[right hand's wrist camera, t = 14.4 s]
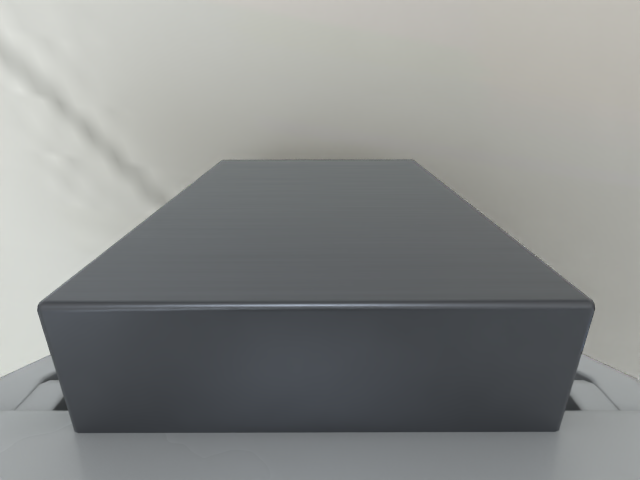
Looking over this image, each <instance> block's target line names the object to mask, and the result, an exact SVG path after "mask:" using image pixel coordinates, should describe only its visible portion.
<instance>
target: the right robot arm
mask: <svg viewBox="0 0 640 480" xmlns="http://www.w3.org/2000/svg"><path fill="white" fill-rule="evenodd" d="M0 480H640V381H639V380H638V379H636V378H634V377H631V376H629V375H627V374H625V373H623V372H621V371H619V370H616V369H614V368H612V367H610V366H608V365H606V364H603V363H601V362H599V361H597V360H595V359H593V358H591V357H588V356H586V355H584V354H582V355H581V358H580V361H579V365H578V368H577V371H576V375H575V378H574V382H573V385H572V388H571V392H570V395H569V398H568V402H567V405H566V409H565V412H564V415H563V419H562V422H561V425H560V429H559V431H556V432H315V433H77V432H74V428H73V425H72V422H71V419H70V415H69V412H68V409H67V406H66V402H65V399H64V396H63V393H62V389H61V386H60V383H59V380H58V376H57V373H56V370H55V367H54V363H53V360H52V357H51V355H49V356H46V357H44V358H42V359H40V360H38V361H36V362H33V363H31V364H29V365H27V366H25V367H22V368H20V369H18V370H16V371H14V372H12V373H9V374H7V375H5V376H3V377H1V378H0Z"/></svg>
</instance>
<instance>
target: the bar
mask: <svg viewBox="0 0 640 480" xmlns="http://www.w3.org/2000/svg"><path fill="white" fill-rule="evenodd" d="M37 311H38V315H39V318H40V321H41V324H42V328H43V331H44V334H45V337H46V341H47V344H48V347H49V350H50V354H51V357H52V360H53V363H54V367H55V370H56V373H57V376H58V380H59V383H60V386H61V389H62V393H63V396H64V399H65V402H66V406H67V409H68V412H69V415H70V419H71V422H72V425H73V428H74V432H77V433H315V432H556V431H559V429H560V425H561V422H562V419H563V415H564V412H565V409H566V405H567V402H568V398H569V395H570V392H571V388H572V385H573V382H574V378H575V375H576V371H577V368H578V365H579V361H580V358H581V355H582V351H583V348H584V344H585V341H586V338H587V334H588V331H589V328H590V324H591V321H592V317H593V314H594V311H595V305H594V302H593V300H591V299H590V298H589V297H587V296H586V295H585V294H584V293H582V292H581V291H580V290H579V289H577V288H576V287H575V286H573V285H572V284H571V283H570V282H568V281H567V280H566V279H565V278H563V277H562V276H561V275H559V274H558V273H557V272H556V271H554V270H553V269H552V268H550V267H549V266H548V265H547V264H545V263H544V262H543V261H542V260H540V259H539V258H538V257H536V256H535V255H534V254H533V253H531V252H530V251H529V250H528V249H526V248H525V247H524V246H522V245H521V244H520V243H519V242H517V241H516V240H515V239H514V238H512V237H511V236H510V235H508V234H507V233H506V232H505V231H503V230H502V229H501V228H500V227H498V226H497V225H496V224H494V223H493V222H492V221H491V220H489V219H488V218H487V217H486V216H484V215H483V214H482V213H480V212H479V211H478V210H477V209H475V208H474V207H473V206H472V205H470V204H469V203H468V202H466V201H465V200H464V199H463V198H461V197H460V196H459V195H458V194H456V193H455V192H454V191H452V190H451V189H450V188H449V187H447V186H446V185H445V184H444V183H442V182H441V181H440V180H438V179H437V178H436V177H435V176H433V175H432V174H431V173H430V172H428V171H427V170H426V169H424V168H423V167H422V166H421V165H419V164H418V163H417V162H416V161H414V160H222V161H220V162H219V163H218V164H216V165H215V166H214V167H213V168H211V169H210V170H209V171H207V172H206V173H205V174H204V175H202V176H201V177H200V178H198V179H197V180H196V181H195V182H193V183H192V184H191V185H190V186H188V187H187V188H186V189H184V190H183V191H182V192H181V193H179V194H178V195H177V196H175V197H174V198H173V199H172V200H170V201H169V202H168V203H166V204H165V205H164V206H163V207H161V208H160V209H159V210H157V211H156V212H155V213H154V214H152V215H151V216H150V217H148V218H147V219H146V220H145V221H143V222H142V223H141V224H139V225H138V226H137V227H136V228H134V229H133V230H132V231H130V232H129V233H128V234H127V235H125V236H124V237H123V238H121V239H120V240H119V241H118V242H116V243H115V244H114V245H113V246H111V247H110V248H109V249H107V250H106V251H105V252H104V253H102V254H101V255H100V256H98V257H97V258H96V259H95V260H93V261H92V262H91V263H89V264H88V265H87V266H86V267H84V268H83V269H82V270H80V271H79V272H78V273H77V274H75V275H74V276H73V277H71V278H70V279H69V280H68V281H66V282H65V283H64V284H62V285H61V286H60V287H59V288H57V289H56V290H55V291H53V292H52V293H51V294H50V295H48V296H47V297H46V298H44V299H43V300H42V301H41V302H40V303H39V304H38V309H37Z"/></svg>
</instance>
